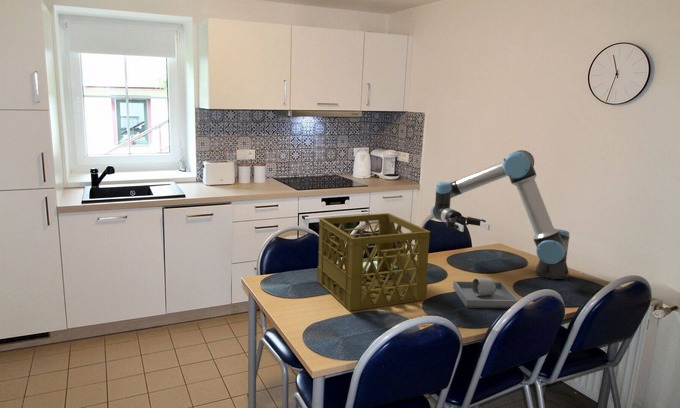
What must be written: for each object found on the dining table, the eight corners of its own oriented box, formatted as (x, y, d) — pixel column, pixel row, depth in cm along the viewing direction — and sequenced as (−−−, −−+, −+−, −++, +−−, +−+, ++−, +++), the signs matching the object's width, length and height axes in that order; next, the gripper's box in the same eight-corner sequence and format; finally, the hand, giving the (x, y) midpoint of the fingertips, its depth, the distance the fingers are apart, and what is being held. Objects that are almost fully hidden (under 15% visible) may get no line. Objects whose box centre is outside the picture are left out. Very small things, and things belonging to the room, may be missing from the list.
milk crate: (317, 282, 232) (318, 218, 225) (385, 273, 246) (388, 213, 240) (349, 312, 200) (352, 238, 194) (426, 300, 214) (430, 231, 208)
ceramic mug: (496, 297, 217) (498, 280, 216) (479, 298, 215) (481, 281, 213) (483, 288, 227) (484, 272, 226) (467, 290, 225) (468, 273, 223)
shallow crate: (501, 288, 230) (501, 281, 229) (519, 308, 209) (520, 301, 208) (453, 287, 229) (453, 281, 229) (466, 307, 208) (466, 300, 207)
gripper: (473, 223, 255) (498, 234, 235) (428, 226, 247) (451, 237, 227) (474, 208, 253) (500, 218, 234) (429, 211, 246) (452, 221, 226)
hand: (476, 228), depth 230 cm, fingers open, 13 cm apart
